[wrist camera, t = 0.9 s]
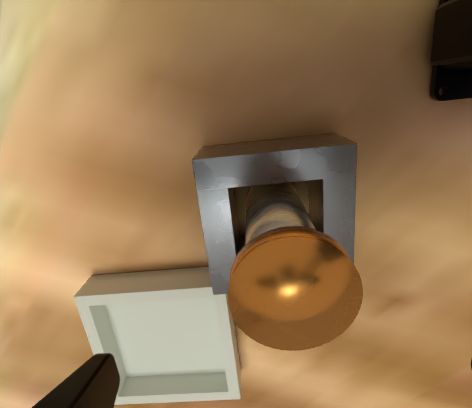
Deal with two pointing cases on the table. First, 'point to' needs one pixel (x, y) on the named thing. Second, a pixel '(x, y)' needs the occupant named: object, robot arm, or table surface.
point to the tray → (163, 334)
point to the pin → (290, 275)
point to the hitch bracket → (270, 172)
